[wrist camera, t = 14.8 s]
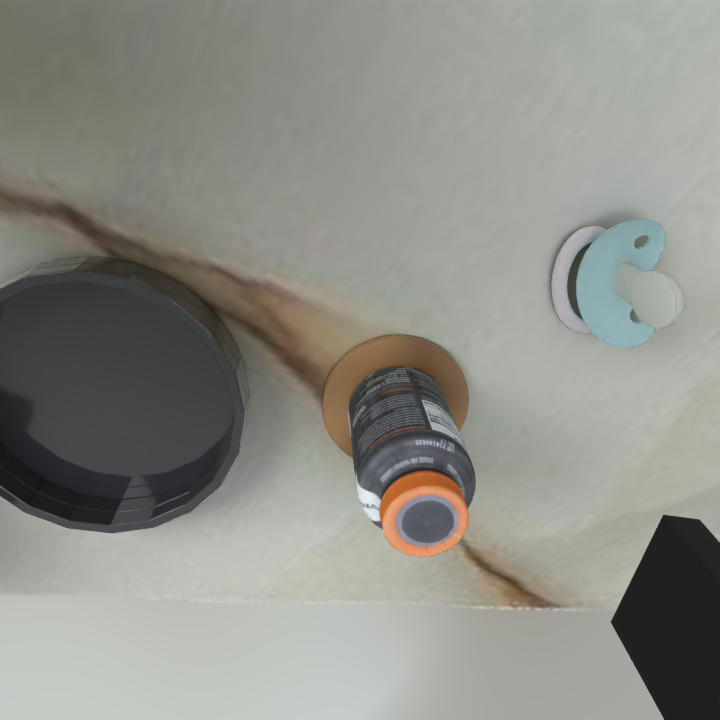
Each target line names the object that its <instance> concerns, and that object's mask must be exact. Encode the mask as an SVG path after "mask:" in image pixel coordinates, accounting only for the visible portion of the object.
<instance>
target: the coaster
mask: <svg viewBox="0 0 720 720" xmlns="http://www.w3.org/2000/svg"><path fill="white" fill-rule="evenodd" d="M394 366H398V367H399V366H405V367H410V368H415V369H417V370H420V371H422V372H424V373H425V374H427V375H428V376H430V377H431V378H432V379H433V380H434V381H435V382H436V383H437V385H438V386H439V388H440V390H441V392H442V394H443V396H444V398H445V401H446V403H447V405H448V408H449V410H450V412H451V415H452V417H453V419H454V422H455V424H456V427H457V429H458V431H460V429H461V428H462V426H463V423H464V421H465V418H466V415H467V410H468V401H469V398H468V389H467V384H466V381H465V378H464V376H463V374H462V372H461V370H460V368H459V366H458V365H457V363H456V362H455V361H454V359H453V358H452V357H451V356H450V355H449V354H448V353H447V352H446V351H445V350H443V349H442V348H440V347H439V346H438V345H436V344H434V343H432V342H430V341H427V340H425V339H422V338H418V337H414V336H407V335H390V336H383V337H379V338H375V339H372V340H369V341H367V342H364V343H362V344H361V345H359V346H357V347H355V348H354V349H352V350H351V351H350V352H348V353H347V354H346V355H345V356H344V357H343V358H342V359H341V360H340V361H339V362H338V363H337V364H336V366H335V367H334V368H333V370H332V372H331V373H330V375H329V377H328V379H327V382H326V384H325V388H324V392H323V399H322V406H323V417H324V422H325V425H326V428H327V430H328V432H329V434H330V436H331V438H332V439H333V440H334V442H335V443H336V444H337V445H338V447H339V448H340V449H341V450H342V451H344V452H345V453H346V454H347V455H349V456H350V457H352V458H353V453H352V452H353V450H352V443H351V434H350V426H349V418H348V406H349V402H350V398H351V396H352V394H353V392H354V391H355V389H356V387H357V386H358V385H359V384H360V383H361V382H362V381H363V380H364V379H365V377H367V376H368V375H370V374H372V373H374V372H376V371H378V370H381V369H384V368H387V367H394Z"/></svg>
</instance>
